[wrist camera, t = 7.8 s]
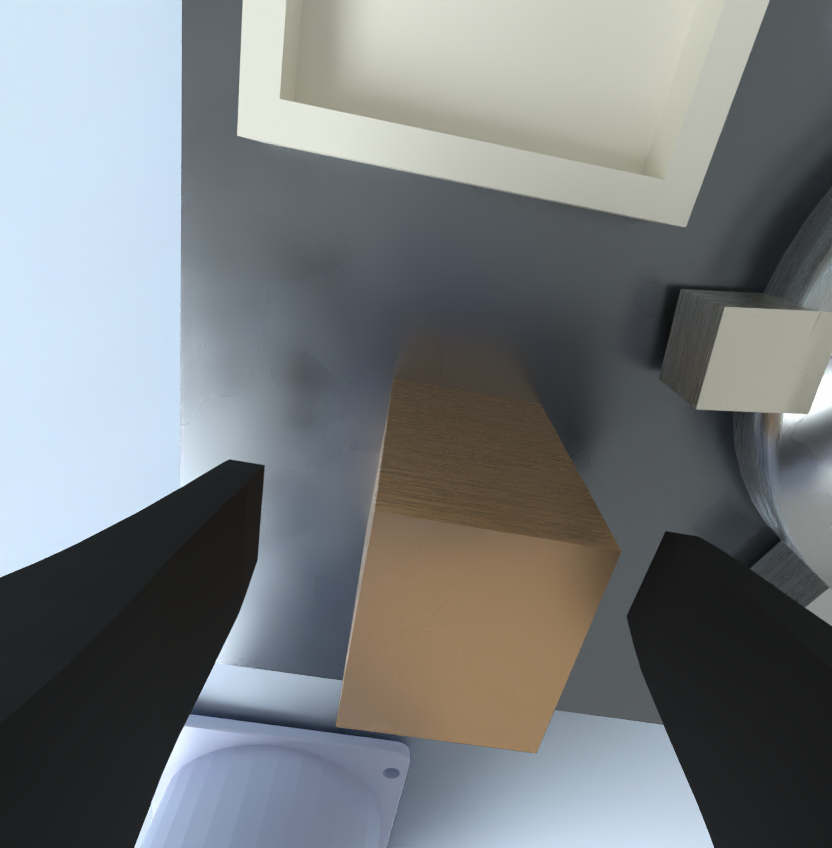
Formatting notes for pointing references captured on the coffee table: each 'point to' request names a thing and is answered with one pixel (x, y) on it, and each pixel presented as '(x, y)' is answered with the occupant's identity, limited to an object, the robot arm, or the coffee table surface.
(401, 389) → the wood grain block
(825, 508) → the sprocket
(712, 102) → the white shallow tray
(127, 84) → the coffee table surface
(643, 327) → the plate
